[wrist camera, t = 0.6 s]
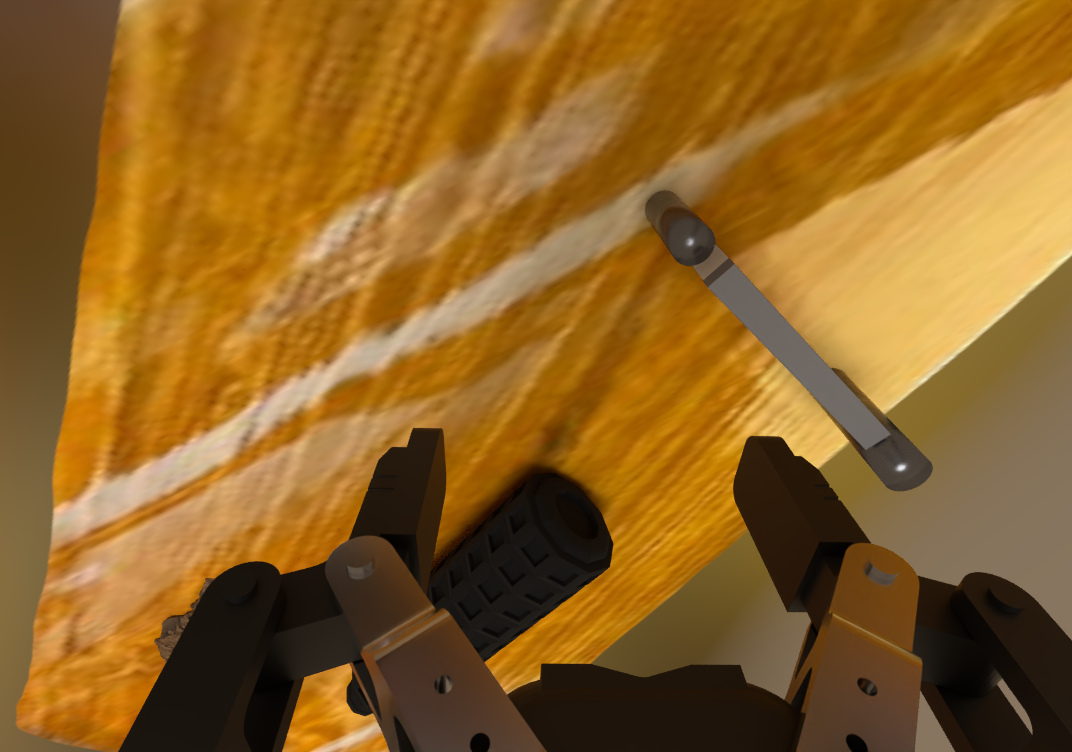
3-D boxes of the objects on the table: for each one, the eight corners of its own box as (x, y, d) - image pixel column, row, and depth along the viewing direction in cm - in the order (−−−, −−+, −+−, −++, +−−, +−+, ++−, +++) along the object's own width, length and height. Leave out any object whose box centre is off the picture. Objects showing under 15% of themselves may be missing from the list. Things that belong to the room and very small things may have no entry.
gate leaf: (828, 367, 42) (891, 434, 34) (808, 382, 42) (865, 450, 35) (693, 220, 35) (734, 264, 28) (672, 240, 36) (707, 287, 29)
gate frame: (668, 179, 35) (718, 225, 26) (852, 382, 43) (940, 473, 34) (634, 213, 36) (670, 269, 27) (820, 404, 45) (897, 498, 35)
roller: (412, 685, 65) (370, 767, 56) (352, 635, 65) (300, 710, 55) (624, 517, 50) (613, 592, 40) (547, 449, 49) (519, 510, 40)
